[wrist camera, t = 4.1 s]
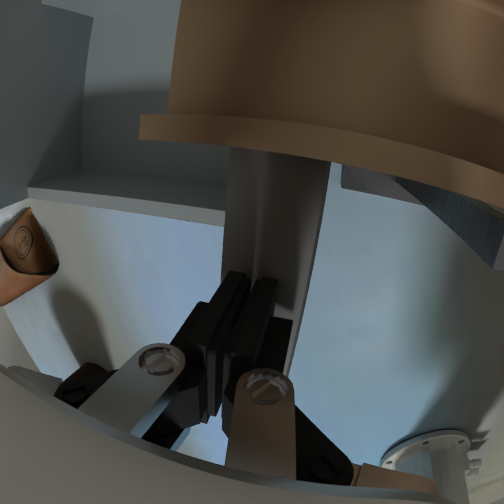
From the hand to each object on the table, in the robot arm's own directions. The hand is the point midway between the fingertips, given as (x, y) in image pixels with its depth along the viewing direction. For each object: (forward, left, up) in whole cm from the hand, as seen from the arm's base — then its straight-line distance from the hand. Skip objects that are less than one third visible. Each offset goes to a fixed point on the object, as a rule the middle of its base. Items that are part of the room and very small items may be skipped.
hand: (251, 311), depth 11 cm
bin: (+10, -9, -12) cm, 18 cm away
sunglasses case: (+33, +10, -13) cm, 37 cm away
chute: (-7, -4, 0) cm, 8 cm away
